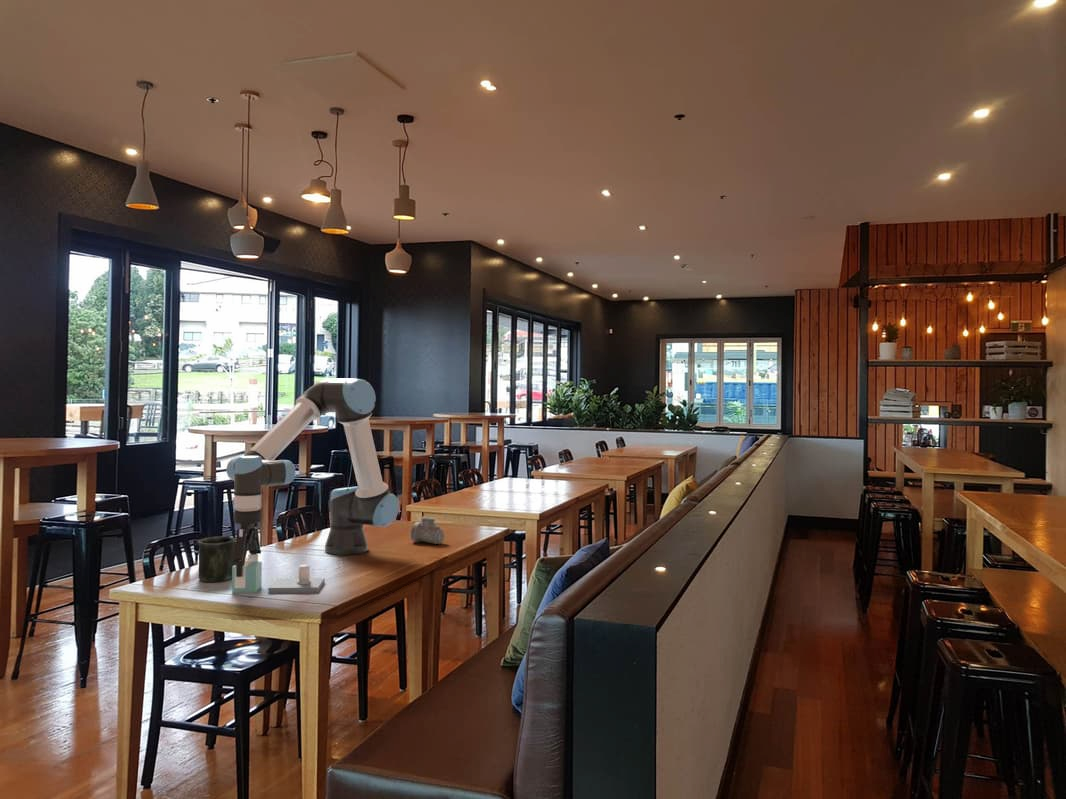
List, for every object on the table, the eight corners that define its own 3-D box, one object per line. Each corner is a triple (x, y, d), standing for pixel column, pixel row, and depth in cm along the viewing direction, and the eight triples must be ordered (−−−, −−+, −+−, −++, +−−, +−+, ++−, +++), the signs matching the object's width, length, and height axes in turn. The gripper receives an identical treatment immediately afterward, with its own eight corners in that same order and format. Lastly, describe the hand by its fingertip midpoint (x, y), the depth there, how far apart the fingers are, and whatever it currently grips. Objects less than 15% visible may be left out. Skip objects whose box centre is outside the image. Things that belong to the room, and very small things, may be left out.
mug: (188, 581, 233) (189, 542, 233) (221, 570, 247) (221, 533, 247) (219, 584, 230) (219, 544, 230) (250, 573, 244) (250, 535, 244)
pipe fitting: (407, 542, 294) (412, 515, 294) (420, 540, 302) (424, 514, 302) (433, 549, 289) (437, 522, 289) (445, 547, 296) (449, 521, 296)
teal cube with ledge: (238, 586, 228) (238, 556, 228) (261, 586, 228) (261, 556, 228) (231, 592, 221) (232, 561, 221) (255, 592, 222) (255, 561, 222)
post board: (277, 583, 232) (277, 561, 232) (324, 583, 234) (324, 561, 234) (268, 593, 221) (268, 570, 221) (317, 592, 223) (318, 570, 223)
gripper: (246, 502, 236) (245, 571, 237) (221, 515, 212) (220, 593, 212) (271, 502, 237) (270, 571, 237) (249, 516, 212) (248, 592, 213)
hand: (246, 581), depth 225 cm, fingers open, 13 cm apart
